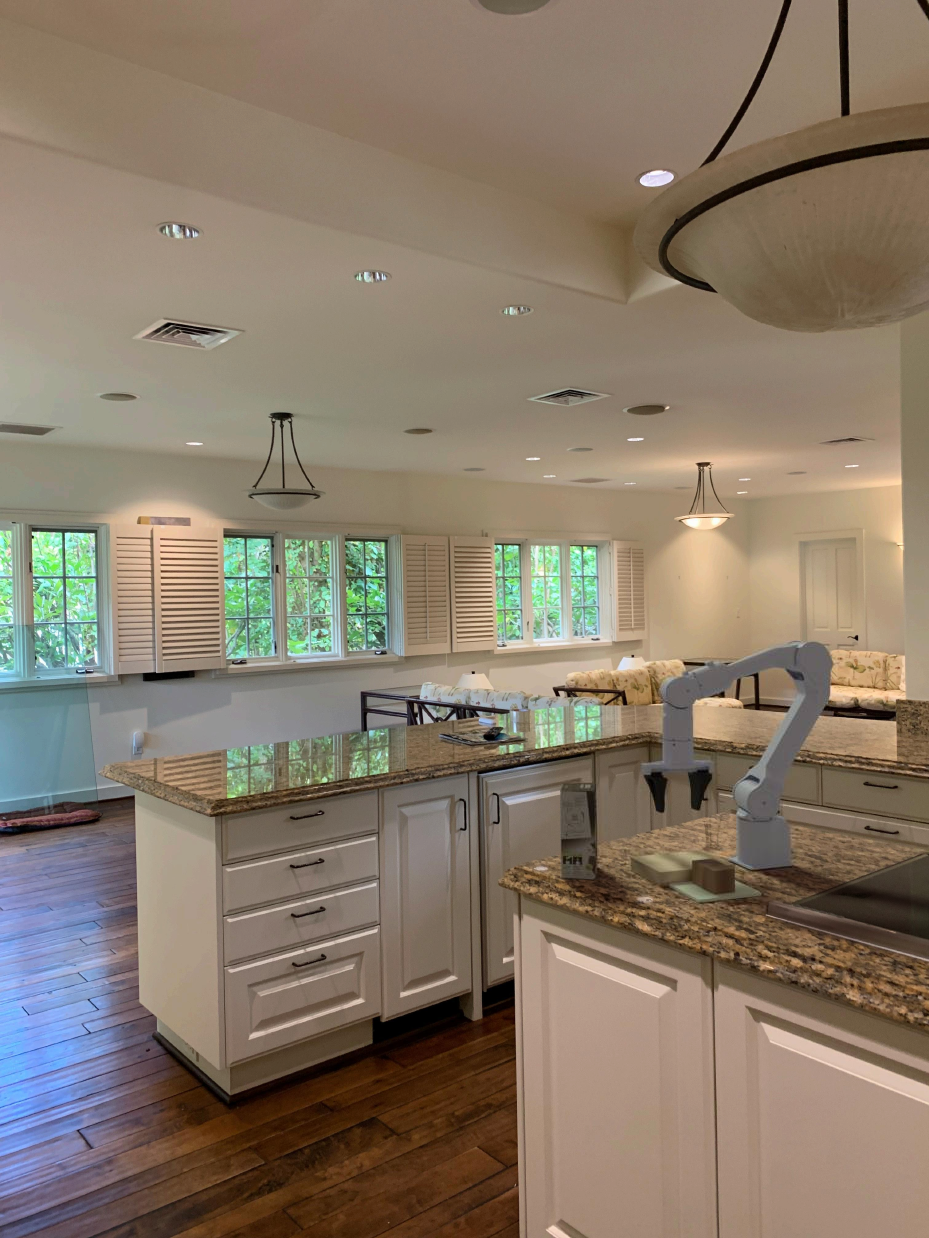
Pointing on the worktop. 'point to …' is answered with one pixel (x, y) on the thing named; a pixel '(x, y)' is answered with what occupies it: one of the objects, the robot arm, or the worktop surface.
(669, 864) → the maple board
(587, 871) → the coffee box
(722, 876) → the walnut block
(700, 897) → the green mat
